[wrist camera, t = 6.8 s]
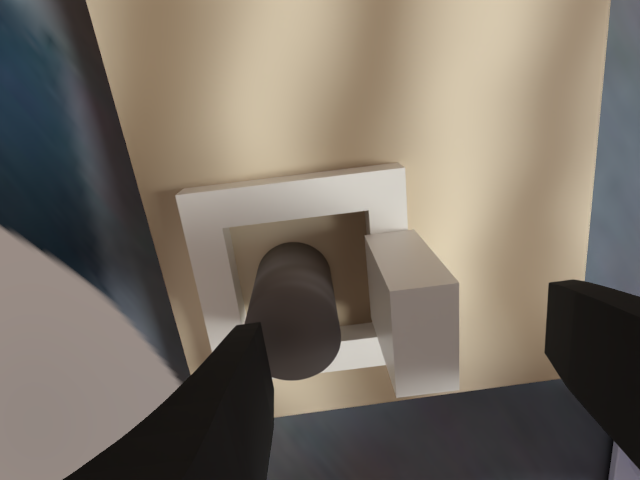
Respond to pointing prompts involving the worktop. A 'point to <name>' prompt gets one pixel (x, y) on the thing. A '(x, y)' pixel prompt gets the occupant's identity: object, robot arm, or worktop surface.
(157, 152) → the board
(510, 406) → the worktop surface
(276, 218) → the collar
